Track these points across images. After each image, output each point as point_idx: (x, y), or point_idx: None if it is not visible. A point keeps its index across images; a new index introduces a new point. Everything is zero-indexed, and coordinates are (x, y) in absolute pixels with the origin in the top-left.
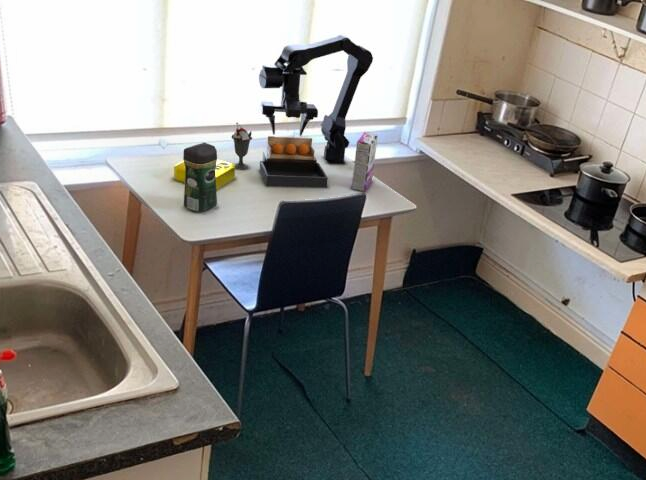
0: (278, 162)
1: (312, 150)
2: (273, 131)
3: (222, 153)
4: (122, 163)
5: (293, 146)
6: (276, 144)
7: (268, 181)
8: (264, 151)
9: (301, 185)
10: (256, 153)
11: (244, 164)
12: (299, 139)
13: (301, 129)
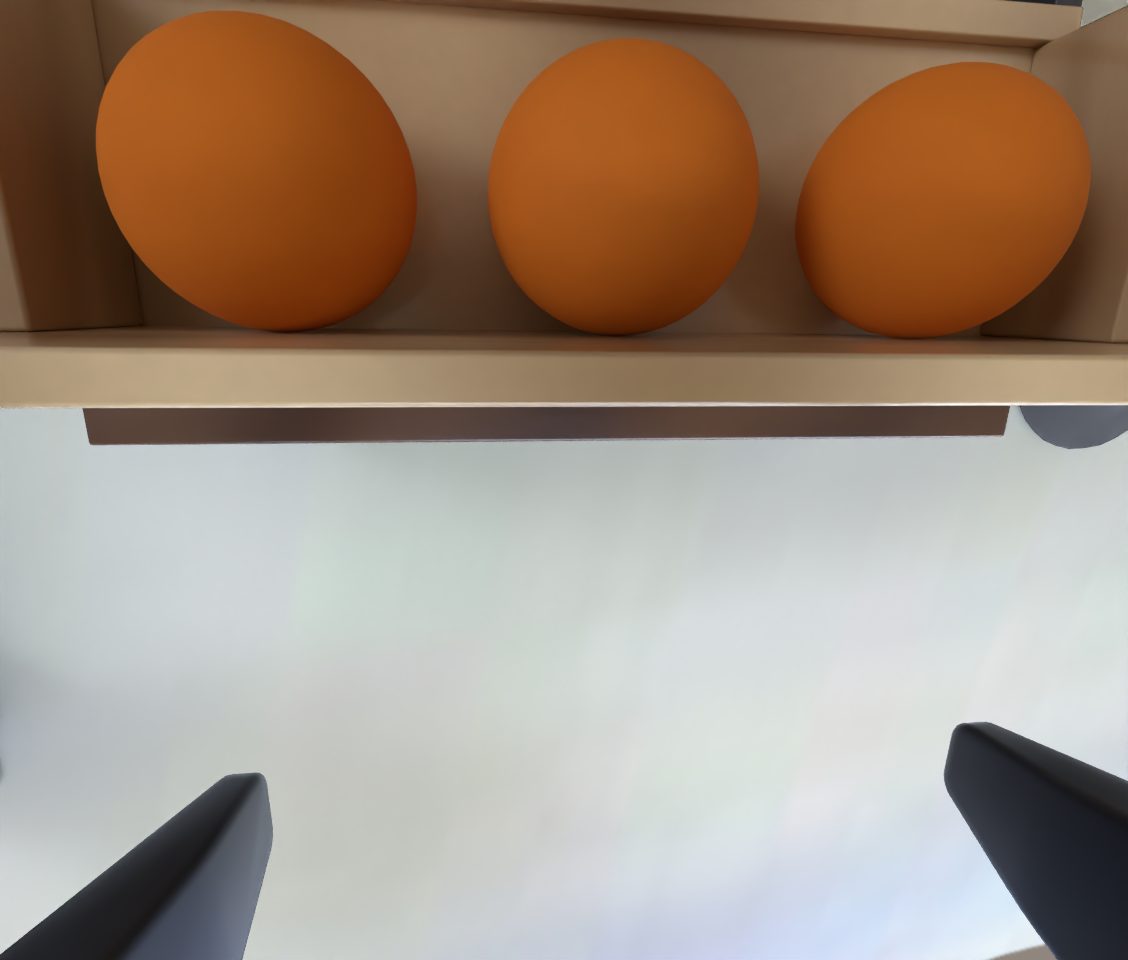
0: None
1: None
2: (1075, 764)
3: (1120, 707)
4: None
5: (591, 76)
6: (1073, 145)
7: None
8: (994, 408)
9: None
10: (796, 762)
11: (1041, 421)
12: (338, 342)
13: (130, 939)
